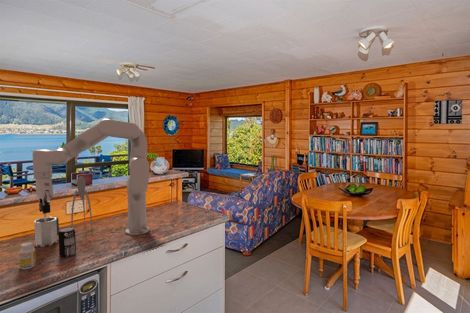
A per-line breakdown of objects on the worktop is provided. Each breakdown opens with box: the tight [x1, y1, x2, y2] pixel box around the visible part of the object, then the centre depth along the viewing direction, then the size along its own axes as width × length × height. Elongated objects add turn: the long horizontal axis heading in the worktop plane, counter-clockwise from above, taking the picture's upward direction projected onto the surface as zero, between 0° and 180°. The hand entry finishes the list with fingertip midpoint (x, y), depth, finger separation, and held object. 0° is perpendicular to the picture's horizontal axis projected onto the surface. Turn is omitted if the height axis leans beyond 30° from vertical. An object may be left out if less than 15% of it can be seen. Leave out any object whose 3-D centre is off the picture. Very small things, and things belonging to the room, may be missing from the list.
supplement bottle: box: [18, 241, 37, 270], centre depth 119 cm, size 5×5×10 cm
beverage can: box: [57, 226, 77, 258], centre depth 130 cm, size 7×7×12 cm
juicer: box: [70, 176, 93, 230], centre depth 165 cm, size 10×9×30 cm
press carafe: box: [33, 216, 60, 248], centre depth 144 cm, size 12×9×12 cm
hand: (44, 211), depth 142 cm, fingers closed on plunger, 4 cm apart
